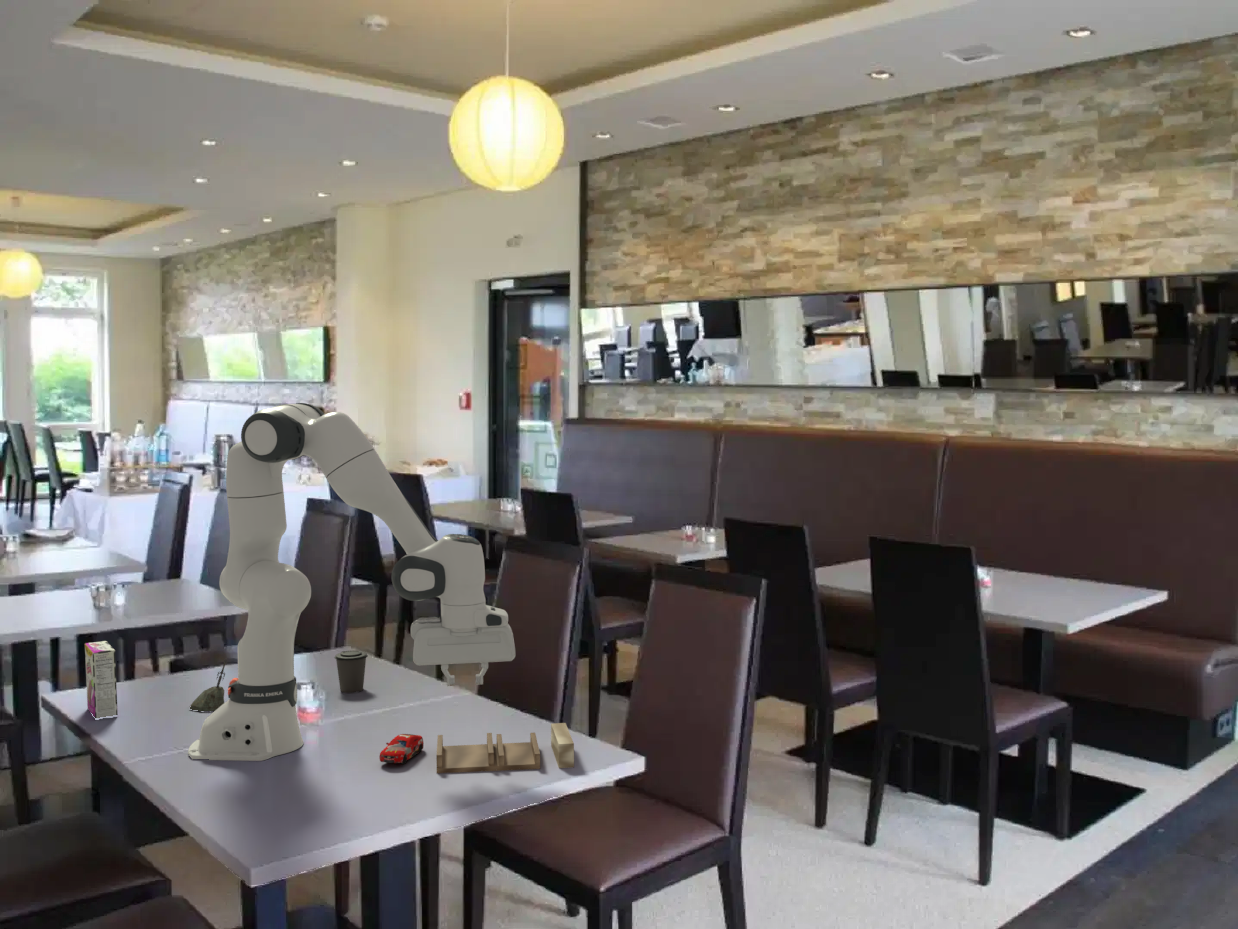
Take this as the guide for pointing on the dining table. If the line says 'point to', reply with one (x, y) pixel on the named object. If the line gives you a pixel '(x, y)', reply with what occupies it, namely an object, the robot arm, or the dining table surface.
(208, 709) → the sword in stone
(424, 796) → the dining table surface
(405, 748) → the race car
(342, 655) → the coffee cup
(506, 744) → the jig
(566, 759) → the bar
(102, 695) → the candy bar box
